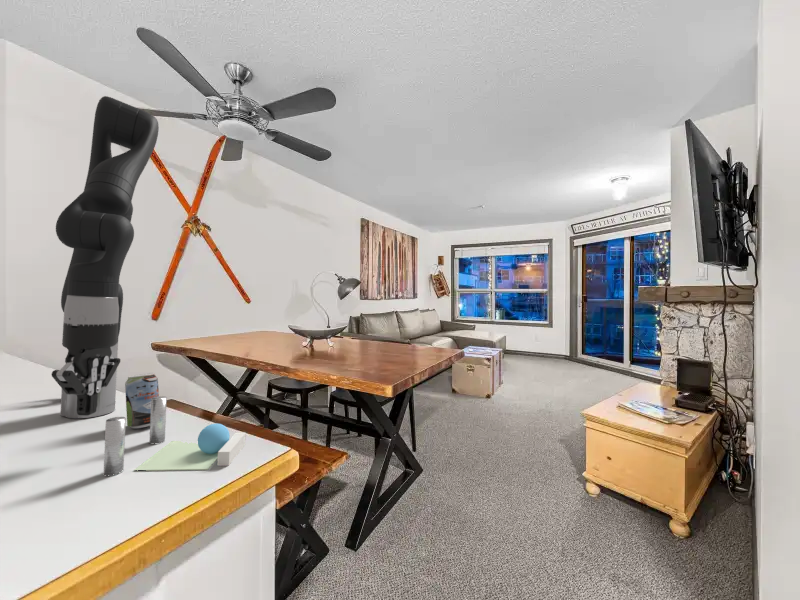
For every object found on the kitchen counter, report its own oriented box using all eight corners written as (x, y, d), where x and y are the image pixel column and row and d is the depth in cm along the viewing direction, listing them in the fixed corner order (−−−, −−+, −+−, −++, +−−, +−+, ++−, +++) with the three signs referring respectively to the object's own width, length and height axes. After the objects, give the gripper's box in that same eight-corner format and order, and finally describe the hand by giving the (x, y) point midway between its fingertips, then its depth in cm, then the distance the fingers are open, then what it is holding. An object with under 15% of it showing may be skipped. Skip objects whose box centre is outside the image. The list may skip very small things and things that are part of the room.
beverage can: (142, 433, 74) (144, 378, 74) (114, 429, 76) (117, 375, 76) (167, 423, 80) (169, 372, 80) (141, 419, 82) (143, 369, 82)
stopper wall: (217, 465, 62) (217, 451, 62) (235, 444, 70) (235, 432, 71) (228, 465, 62) (229, 451, 62) (245, 444, 71) (245, 432, 71)
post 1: (99, 476, 56) (101, 422, 56) (110, 468, 59) (113, 416, 59) (116, 476, 57) (118, 422, 57) (127, 468, 59) (129, 416, 59)
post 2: (146, 444, 69) (148, 399, 69) (154, 439, 72) (156, 396, 72) (160, 444, 69) (162, 399, 69) (167, 439, 72) (169, 396, 72)
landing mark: (133, 471, 59) (133, 470, 59) (171, 442, 70) (172, 441, 70) (207, 469, 60) (207, 468, 60) (232, 441, 72) (232, 440, 72)
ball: (205, 423, 64) (229, 439, 64) (216, 414, 69) (239, 429, 70) (185, 448, 63) (210, 464, 64) (198, 437, 69) (221, 452, 69)
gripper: (98, 317, 69) (93, 402, 69) (34, 322, 56) (28, 427, 56) (137, 319, 70) (132, 403, 70) (84, 325, 57) (78, 428, 57)
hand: (86, 414), depth 63 cm, fingers closed
